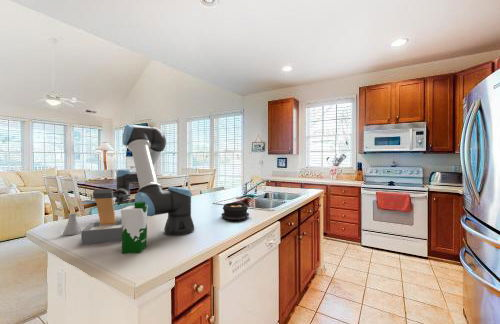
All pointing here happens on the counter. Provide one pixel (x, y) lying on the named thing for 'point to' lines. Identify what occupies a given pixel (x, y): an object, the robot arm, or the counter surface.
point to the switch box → (101, 233)
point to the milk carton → (134, 228)
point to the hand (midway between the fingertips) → (112, 202)
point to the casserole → (235, 211)
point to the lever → (105, 206)
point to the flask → (72, 225)
